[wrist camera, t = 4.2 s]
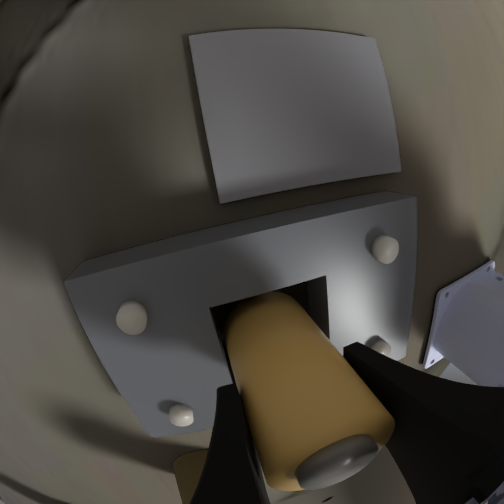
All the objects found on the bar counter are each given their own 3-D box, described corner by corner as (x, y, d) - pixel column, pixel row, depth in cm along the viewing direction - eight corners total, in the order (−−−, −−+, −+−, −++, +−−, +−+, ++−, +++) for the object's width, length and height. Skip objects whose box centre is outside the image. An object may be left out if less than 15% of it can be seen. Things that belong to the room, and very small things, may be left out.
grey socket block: (385, 190, 14) (425, 198, 11) (384, 337, 17) (410, 361, 14) (82, 261, 11) (57, 287, 8) (153, 407, 15) (152, 445, 12)
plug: (300, 281, 13) (415, 399, 5) (307, 348, 14) (388, 464, 6) (214, 305, 12) (258, 467, 5) (233, 370, 13) (278, 509, 6)
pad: (370, 40, 11) (374, 38, 11) (396, 171, 14) (401, 171, 13) (188, 39, 9) (188, 35, 9) (219, 202, 12) (220, 203, 12)
